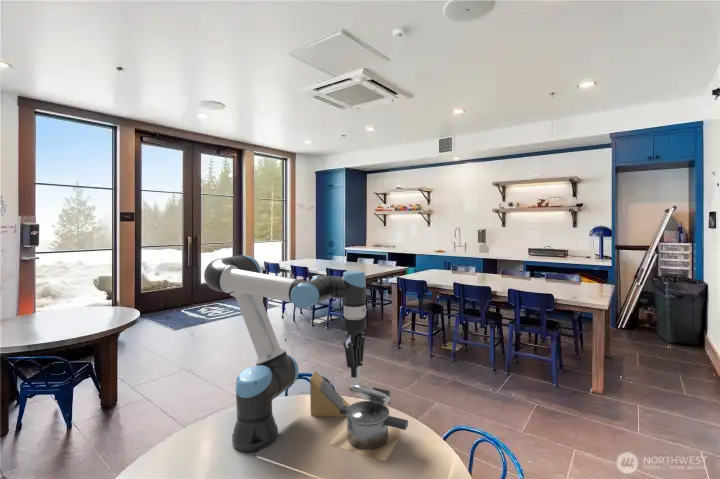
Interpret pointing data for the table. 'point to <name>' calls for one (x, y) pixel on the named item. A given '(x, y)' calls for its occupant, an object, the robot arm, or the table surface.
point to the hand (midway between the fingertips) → (355, 385)
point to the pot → (369, 424)
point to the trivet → (376, 453)
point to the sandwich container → (324, 398)
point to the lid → (372, 394)
